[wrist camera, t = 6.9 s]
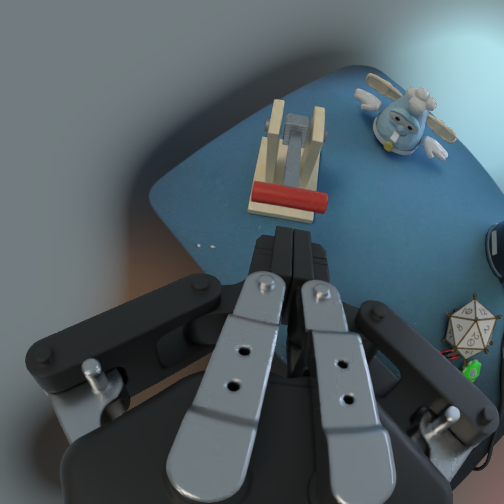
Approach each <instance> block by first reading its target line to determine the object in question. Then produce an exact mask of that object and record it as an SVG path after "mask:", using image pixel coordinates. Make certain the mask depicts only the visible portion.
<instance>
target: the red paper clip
mask: <svg viewBox="0 0 504 504" xmlns="http://www.w3.org/2000/svg"><path fill="white" fill-rule="evenodd" d="M440 353H441V354H442V355H447V354H448V353H450V354H448V355H447V356H450V357H445V358H446V359H448V360H453V359H457V358H462V356H461V355H460V354H459V353H458V352H457V351H455V352H452V349H450V350H446V351H442V352H440Z"/></svg>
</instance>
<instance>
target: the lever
mask: <svg viewBox="0 0 504 504" xmlns="http://www.w3.org/2000/svg"><path fill="white" fill-rule="evenodd" d="M308 130H309V117H307V116H302V115H296V114H290V113H287V117H286V122H285V129H284V136H283V142H282V144H283V145H288V150H287V158H286V165H285V172H284V180H283V185H279V184H273V183H267V182H261V181H254V183H253V188H252V194H251V201H252V202H257V203H263V204H270V205H275V206H281V207H287V208H293V209H298V210H304V211H309V212H315V213H320V214H324V213H325V212H326V208H327V204H328V194H327V193H323V192H318V191H313V190H307V189H302V188H299V182H300V163H301V148H305V145H306V140H307V135H308Z"/></svg>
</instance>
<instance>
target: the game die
mask: <svg viewBox="0 0 504 504" xmlns="http://www.w3.org/2000/svg"><path fill="white" fill-rule="evenodd" d="M476 297H477V296H476V292H475V293H474V294H473V300H471V301H470V302H468V303H467V304H466V305H464V306H463V307H461V308H460V309H459V310H457V309H454V311H455V312H454V313H453V314H451V315H450V314H449V313H445V314H446V316H447V317H449V322H448V328H447V334H446V339H442V340H441V342H442V343H443V342H445V341H446V342H447V343H449V344H450V345H451V346H452V347H453V349H452V352H455V351H457V352H458V353H459V354H460V355H461V356H462V357H463V358H464V362H463V364H464V365H465V364H466V362H467V361H466V360H467V359H468V358H470V357H472V356H474V355H476V354H478V353H480V352H482V351H485V354H488V349H486V348H487V346H488V344H490V345H493V342H492V341H490V340H491V337H492V334H493V330H494V327H495V323H496V320H497V319H500V318H501V316H502V315H498V316H497V317H496V316H494V315H493V314H492V313H491V312H490V311H489V310H488V309H487V308H486V307H484V306H483V305H482V304H481V303H480V302H479V301H478V300H476Z"/></svg>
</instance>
